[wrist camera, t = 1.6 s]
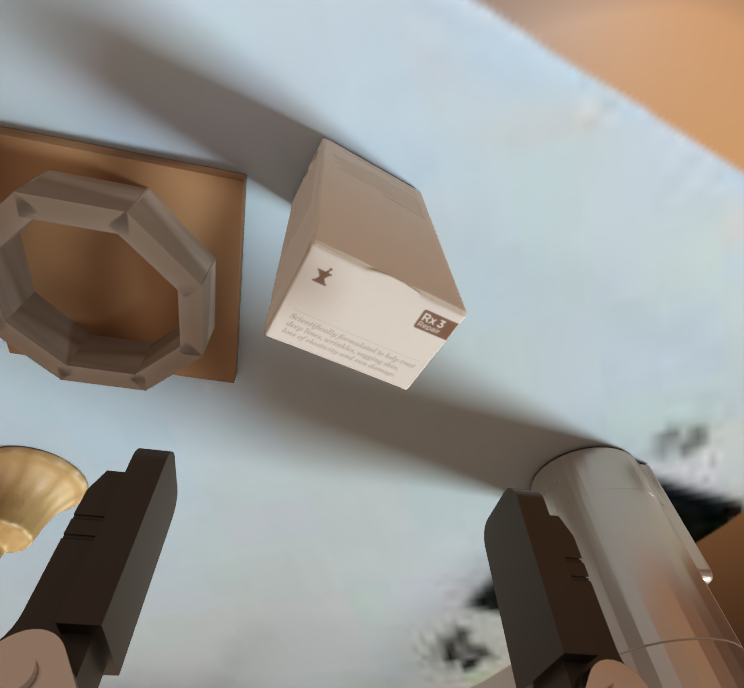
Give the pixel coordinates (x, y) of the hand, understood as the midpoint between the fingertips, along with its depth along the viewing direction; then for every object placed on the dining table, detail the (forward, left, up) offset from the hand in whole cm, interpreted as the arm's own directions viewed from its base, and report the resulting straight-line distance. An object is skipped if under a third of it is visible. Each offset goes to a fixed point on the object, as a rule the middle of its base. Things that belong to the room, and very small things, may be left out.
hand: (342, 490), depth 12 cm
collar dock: (+13, +7, -18) cm, 23 cm away
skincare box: (0, 0, -18) cm, 18 cm away
